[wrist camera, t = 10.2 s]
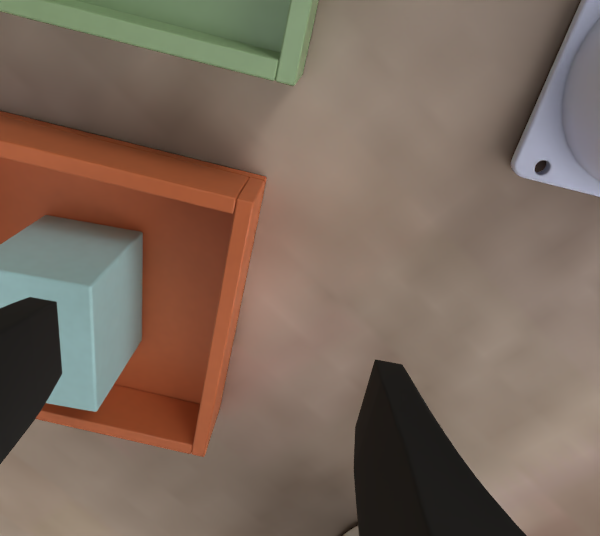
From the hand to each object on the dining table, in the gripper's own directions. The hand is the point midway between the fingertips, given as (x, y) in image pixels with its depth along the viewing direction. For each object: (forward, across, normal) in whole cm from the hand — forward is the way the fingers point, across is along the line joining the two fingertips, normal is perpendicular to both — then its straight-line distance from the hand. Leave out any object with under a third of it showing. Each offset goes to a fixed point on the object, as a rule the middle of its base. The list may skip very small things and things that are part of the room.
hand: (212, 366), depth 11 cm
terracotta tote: (+9, +7, +4) cm, 12 cm away
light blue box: (+9, +7, +4) cm, 12 cm away
